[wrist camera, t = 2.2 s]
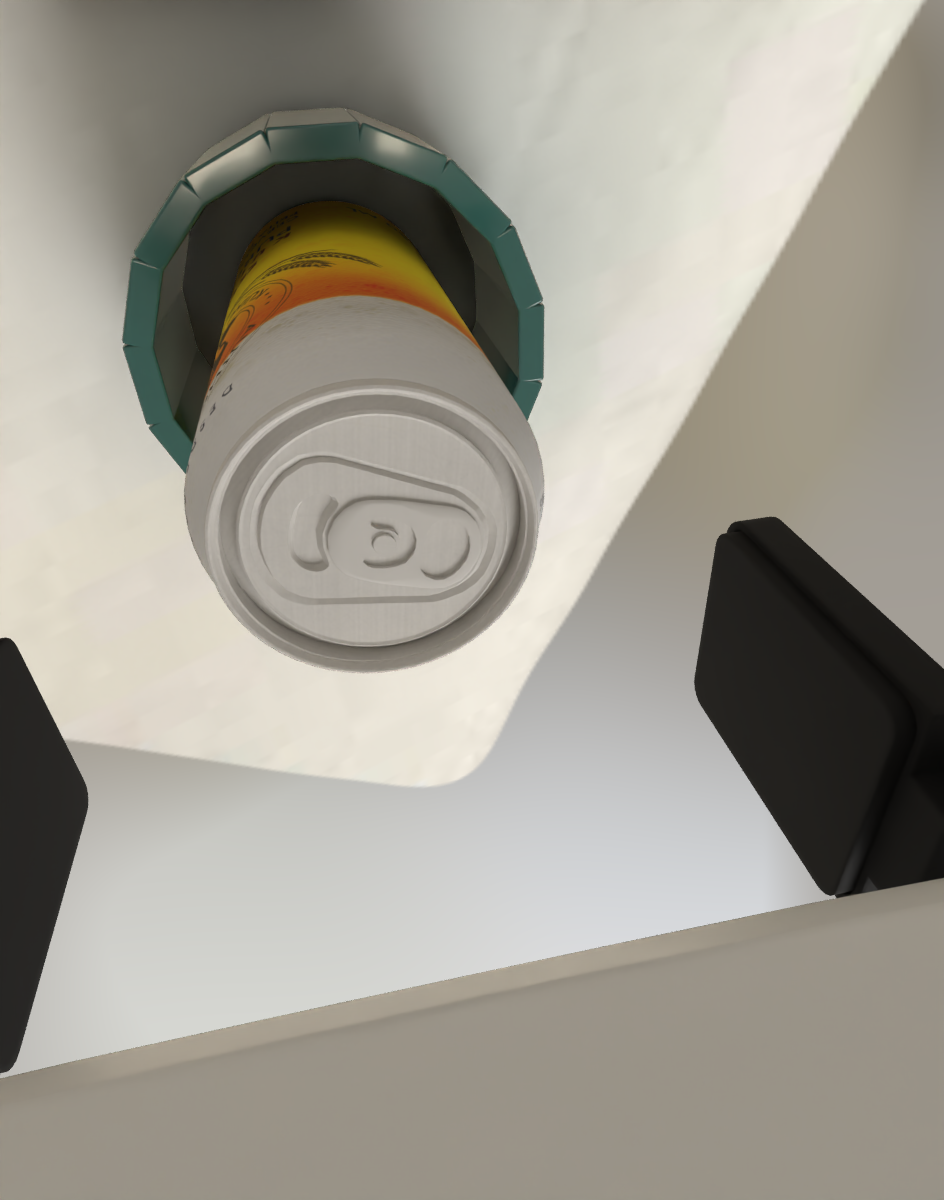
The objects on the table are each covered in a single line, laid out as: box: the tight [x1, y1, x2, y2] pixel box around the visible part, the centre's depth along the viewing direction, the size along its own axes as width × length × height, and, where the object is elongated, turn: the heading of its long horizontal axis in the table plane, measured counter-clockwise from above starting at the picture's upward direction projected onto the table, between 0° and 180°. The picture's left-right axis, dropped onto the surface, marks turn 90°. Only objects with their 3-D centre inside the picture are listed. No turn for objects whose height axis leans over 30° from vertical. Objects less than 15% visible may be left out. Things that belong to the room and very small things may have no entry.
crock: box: [122, 107, 544, 474], centre depth 22 cm, size 10×10×6 cm
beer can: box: [184, 201, 544, 673], centre depth 18 cm, size 6×6×15 cm
